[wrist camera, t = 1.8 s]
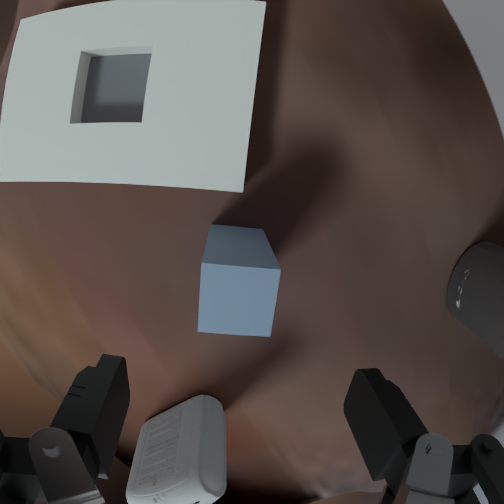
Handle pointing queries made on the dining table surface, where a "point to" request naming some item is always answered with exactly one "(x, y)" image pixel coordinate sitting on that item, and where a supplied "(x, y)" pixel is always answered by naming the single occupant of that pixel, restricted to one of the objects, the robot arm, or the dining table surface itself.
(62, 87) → the socket
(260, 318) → the peg
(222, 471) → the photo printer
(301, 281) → the dining table surface
